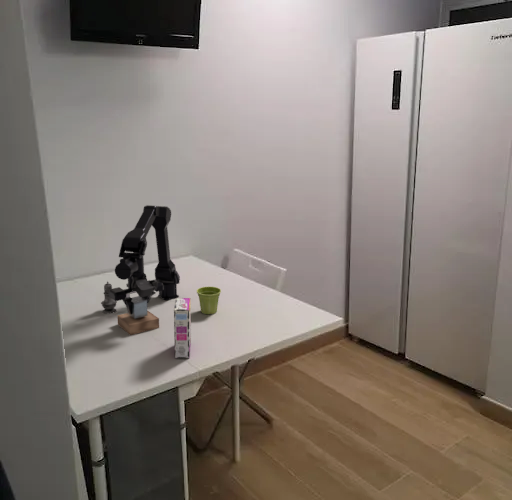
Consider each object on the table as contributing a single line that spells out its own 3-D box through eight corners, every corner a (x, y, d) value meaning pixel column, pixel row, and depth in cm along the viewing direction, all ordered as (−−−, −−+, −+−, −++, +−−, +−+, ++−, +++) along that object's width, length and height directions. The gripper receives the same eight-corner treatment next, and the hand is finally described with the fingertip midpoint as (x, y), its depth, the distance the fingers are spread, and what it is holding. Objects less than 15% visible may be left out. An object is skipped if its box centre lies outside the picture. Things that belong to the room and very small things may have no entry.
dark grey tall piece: (113, 314, 198) (111, 284, 195) (98, 313, 199) (96, 283, 196) (120, 308, 203) (118, 279, 200) (106, 307, 205) (104, 278, 201)
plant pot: (225, 309, 204) (225, 288, 202) (213, 318, 196) (213, 296, 194) (204, 305, 208) (204, 285, 206) (192, 313, 200) (191, 292, 197)
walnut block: (145, 318, 195) (145, 309, 194) (159, 328, 187) (158, 318, 186) (117, 325, 189) (117, 315, 188) (130, 336, 180) (129, 325, 179)
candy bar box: (190, 358, 164) (189, 309, 159) (174, 359, 163) (173, 310, 159) (191, 343, 175) (190, 297, 170) (176, 343, 174) (175, 297, 170)
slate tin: (141, 311, 190) (140, 295, 188) (147, 315, 186) (147, 299, 185) (127, 314, 187) (127, 298, 185) (134, 319, 183) (133, 302, 181)
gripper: (120, 281, 170) (123, 326, 175) (170, 271, 182) (172, 313, 186) (106, 273, 179) (109, 315, 183) (155, 264, 190) (156, 304, 194)
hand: (137, 312), depth 186 cm, fingers closed on slate tin, 5 cm apart
